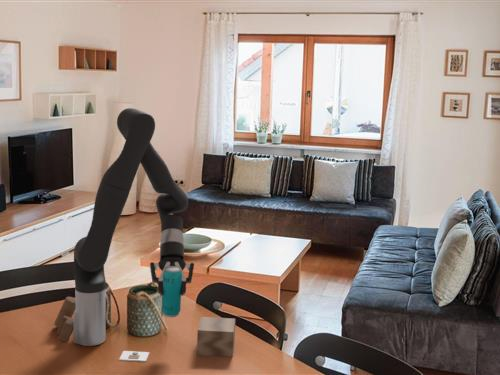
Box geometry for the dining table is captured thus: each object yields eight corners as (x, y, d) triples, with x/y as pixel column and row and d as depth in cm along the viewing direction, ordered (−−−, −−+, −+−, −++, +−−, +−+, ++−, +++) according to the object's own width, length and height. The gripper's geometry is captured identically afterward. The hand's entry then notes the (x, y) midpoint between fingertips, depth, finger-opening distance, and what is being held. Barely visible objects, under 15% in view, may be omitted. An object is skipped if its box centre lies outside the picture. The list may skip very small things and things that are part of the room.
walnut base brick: (196, 354, 204) (197, 330, 202) (200, 340, 215) (201, 316, 213) (232, 356, 204) (233, 332, 202) (234, 342, 214) (235, 318, 213)
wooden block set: (70, 349, 209) (82, 322, 207) (44, 338, 208) (57, 310, 206) (83, 325, 227) (95, 299, 225) (59, 314, 226) (71, 289, 224)
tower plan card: (119, 360, 198) (119, 359, 198) (123, 351, 204) (123, 350, 204) (145, 361, 198) (145, 360, 198) (149, 353, 204) (149, 351, 203)
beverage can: (165, 310, 209) (167, 264, 206) (182, 313, 208) (184, 267, 205) (158, 316, 203) (160, 269, 201) (176, 319, 202) (178, 272, 199)
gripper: (149, 239, 208) (148, 289, 198) (195, 240, 210) (196, 289, 201) (148, 251, 214) (147, 299, 204) (193, 252, 216) (194, 299, 207)
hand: (172, 294), depth 203 cm, fingers closed on beverage can, 5 cm apart
